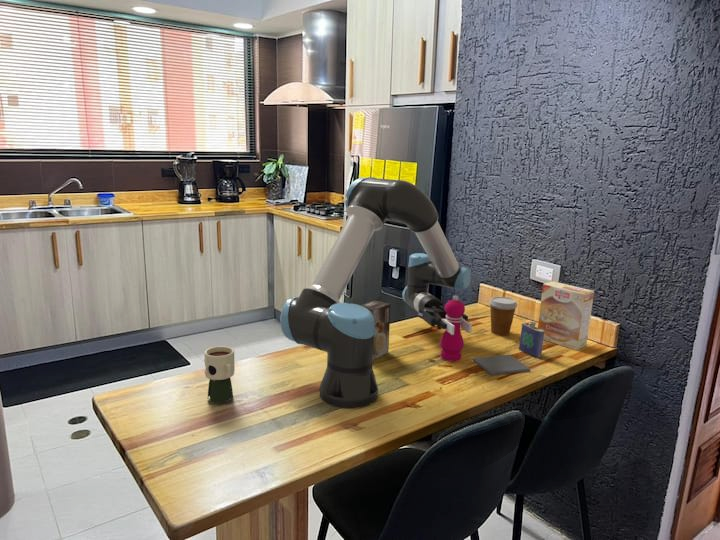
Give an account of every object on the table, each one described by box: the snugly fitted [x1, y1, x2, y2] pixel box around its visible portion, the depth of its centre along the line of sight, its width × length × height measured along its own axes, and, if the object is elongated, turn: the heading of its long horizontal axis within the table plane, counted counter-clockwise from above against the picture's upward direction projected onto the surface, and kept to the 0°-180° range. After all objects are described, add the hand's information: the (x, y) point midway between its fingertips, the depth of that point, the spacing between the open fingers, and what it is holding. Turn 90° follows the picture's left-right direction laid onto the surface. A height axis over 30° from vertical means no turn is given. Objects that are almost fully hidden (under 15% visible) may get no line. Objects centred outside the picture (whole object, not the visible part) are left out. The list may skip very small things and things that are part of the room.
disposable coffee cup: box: [488, 296, 518, 336], centre depth 192 cm, size 10×10×12 cm
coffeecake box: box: [537, 280, 595, 351], centre depth 185 cm, size 15×7×20 cm, turn 42°
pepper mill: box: [439, 295, 466, 362], centre depth 167 cm, size 7×7×20 cm
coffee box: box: [359, 299, 391, 361], centre depth 168 cm, size 9×6×16 cm
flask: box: [518, 320, 544, 359], centre depth 175 cm, size 9×3×11 cm, turn 25°
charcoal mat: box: [471, 354, 531, 376], centre depth 165 cm, size 13×11×1 cm
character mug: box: [203, 345, 235, 404], centre depth 136 cm, size 11×7×13 cm, turn 41°
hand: (461, 329), depth 162 cm, fingers closed on pepper mill, 5 cm apart
